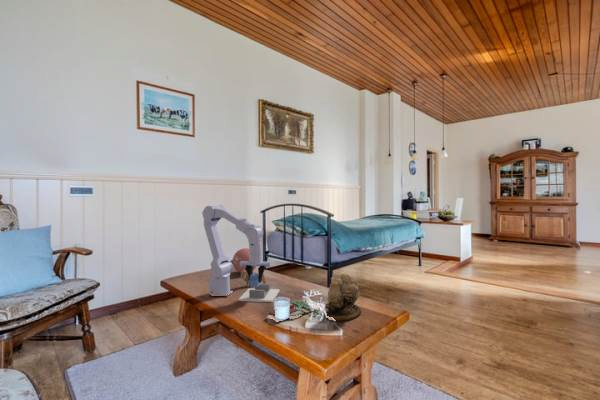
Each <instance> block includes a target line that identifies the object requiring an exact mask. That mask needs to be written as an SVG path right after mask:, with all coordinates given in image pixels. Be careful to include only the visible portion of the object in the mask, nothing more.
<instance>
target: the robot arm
mask: <svg viewBox="0 0 600 400" xmlns="http://www.w3.org/2000/svg"><path fill="white" fill-rule="evenodd" d="M201 213H202V218H203V228H204V231H205V234H206V238H207V242H208V244H209V249H210V253H211V255H212V261H211V262H210V273H211V275H212V276H210V278H209V281H208V287H209V289H208V293H209V294H215V295H227V294H228V295H229V294H230V293H231V294H232V293H233V292H234V291H233V290H231V284H230V283H231V280H230V279H231V277H230V275H231V273H232V271H233V268H234V266H233V264H232V263H230V261H231V260H230V259H229V257H227V255H225V252H224V250H223V247H222V242H221V239H220V235H219V231H218V229H217V224H218V222H219V221H220V220H222V219H225V220H226V221H228V222H230V223H232V224H234V225H235V229H237V230H238V231H240V232H241V233H243V234H244V235H245V236H246V238H247V239H248V249H249V261H241V262H240V266H246V268H245V270H246V272H247V273H248V276H249V279H250V275H252V274H253V273H254V270H253V266H256V267H258V268H257V270H258V271H257V273H258V272H259V283H260V282H261V283H262V277H263V275H264V273H265V270H266V268H271V267H272V262H271V261H266V260H265V261H263V260H262V258H263V257H262V256H263V255H262V254H263V253H262V237H263V236H264V229H263V228H262V227H261V226H260V225H255V224H254V223H251V222H250V221H248V219H247V218H239V217H238V216H236V215H235V214H234V213H232V212H231V211H229V209H228V208H227V207H226V206H224V205H222V204H217V205H206V206H205V207H204V209H203V210H202V212H201ZM209 294H208V295H209ZM231 294H230V295H231ZM230 295H229V296H230Z"/></svg>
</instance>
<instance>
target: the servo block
mask: <svg viewBox="0 0 600 400" xmlns="http://www.w3.org/2000/svg"><path fill="white" fill-rule="evenodd" d="M249 282H250V287H249V288H255V287H258V286H259V285H260V284H262V281H261V282H260V283H259V273H258V271H257V272H254V271H253V274H252V275H250V280H249V281H248V283H249Z"/></svg>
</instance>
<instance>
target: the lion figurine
mask: <svg viewBox="0 0 600 400" xmlns="http://www.w3.org/2000/svg"><path fill="white" fill-rule="evenodd" d="M257 273H259V272H258V271H257ZM240 278H241V280H243V282H245V283H246V284H245V286H246V287H248V288H251V287H250V282H248V281H249V280H250V279H249V276H248V273H247V272H246V270H244V271H242V272H241V273H240ZM261 283H262V284H267V281H266V280H265V276H264V274H263V276H262V281H261Z"/></svg>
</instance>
